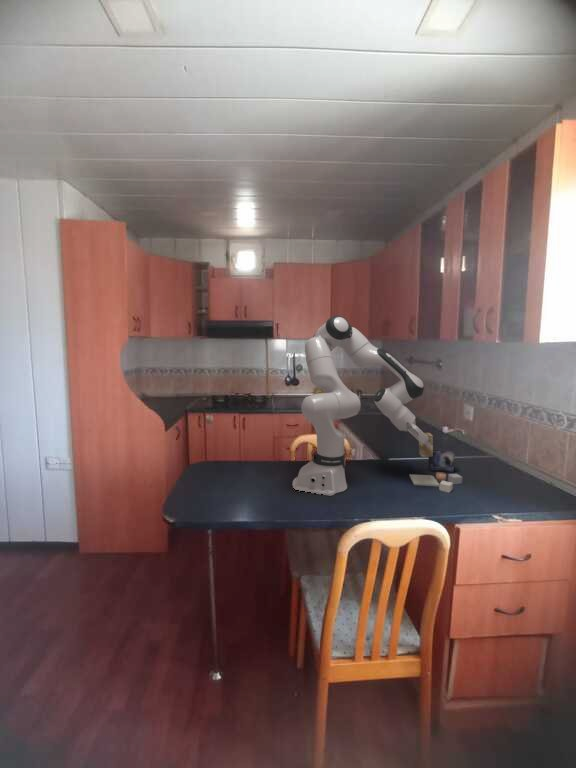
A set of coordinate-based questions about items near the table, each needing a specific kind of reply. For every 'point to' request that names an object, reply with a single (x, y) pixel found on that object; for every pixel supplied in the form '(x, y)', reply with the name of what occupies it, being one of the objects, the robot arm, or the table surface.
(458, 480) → the grey plastic block
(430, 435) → the beech block
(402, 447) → the table surface
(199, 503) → the table surface
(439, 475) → the terracotta puck
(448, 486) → the off-white plastic block
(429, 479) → the coaster
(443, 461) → the dark purple camera
